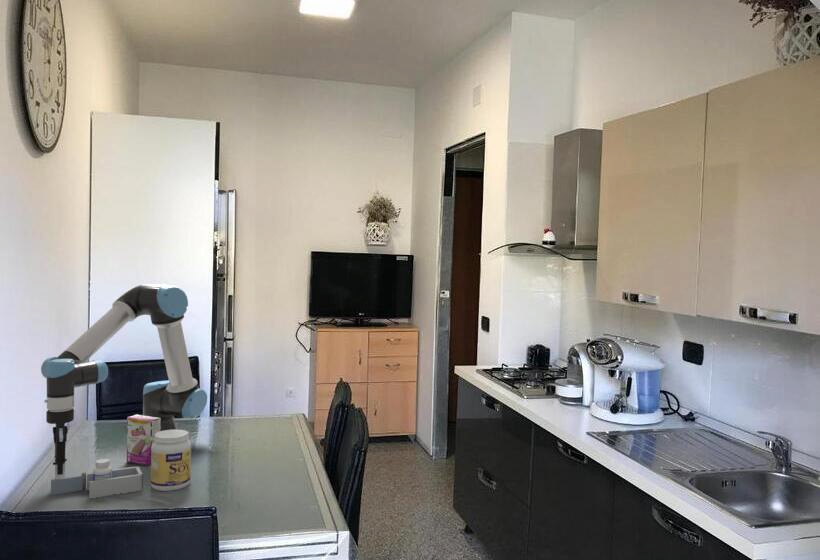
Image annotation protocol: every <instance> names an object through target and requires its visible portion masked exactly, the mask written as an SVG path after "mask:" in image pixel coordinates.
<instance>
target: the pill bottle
mask: <svg viewBox="0 0 820 560" xmlns="http://www.w3.org/2000/svg"><path fill="white" fill-rule="evenodd" d="M110 460H111V459H109V458H100V459H97V460H95V464H94V466H95V467H94V468H93V470H92V473H93V481H96V480H103V479H109V478H112V470H113V467H112V466H110V463H111V461H110Z"/></svg>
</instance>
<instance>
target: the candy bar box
mask: <svg viewBox="0 0 820 560" xmlns="http://www.w3.org/2000/svg"><path fill="white" fill-rule="evenodd" d="M160 431H161V418H157V417H150V416H144V415H143V414H134V415H130V416H127V418H126V463H129V464H136V465H142V466H147V467H151V447H152V444H153V443H154V442H155V441H154V435H155V433H157V432H160Z"/></svg>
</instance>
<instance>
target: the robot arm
mask: <svg viewBox="0 0 820 560" xmlns="http://www.w3.org/2000/svg"><path fill="white" fill-rule="evenodd" d="M187 307H189V300H188V295H187V294H186V292H185V291H184V290H183V289H182V288H180V287H179V286H176V285H172V284H151V283H143V284H139V285H137V286H135V287H133V288H131V289H130V290H128V291H126V292H124V293H123V294H122V295H120V296H119V297H118V298H117V299H116V300H115V301H114V302H113V303H112V305H111V308H110V309H109V310H108V311H107V312H105V314H104V315H102V316H101V317H100V318H99V319H97V321H96V322H94V324H92V325H91V326H90V327H89V328H88V329H87V330H86V331H84V333H82V335H80V336H79V337H78V338H77V339H76V340H75V341H74V342H73V343H72V344H70V345H69V346H68V347H66V349H65V350H63V352H61V353H60V354H59V355H58V356H53V357H52V356H51V357H48V358H45V360H43V362H42V364H41V366H40V372H41V375H42V376H43V378H45V379H46V399H44V400H43V402H44V403H46V409H47V410H46V412H45V413H46V423H47V424H50V425H55V426H53V427H52V435H53V444H54V456H53V457H54V462H52V466H54V479H60V478H66V473H65V472H66V461H68V458H66V442H67V441H68V432H69V431H68V430H69V429H68V425H65V424H67V423H71V422H73V421H74V419H75V409H74V407H75V388H79V387H80V388H81V387H84V386H90V385H96V384H99V383H103V382H105V380H107V378H108V376H109V367H108V365H107V363H106V362H105V361H104V360H101V359H97V360H95V359H94V360H90V358H92V357H93V355H94V354H96V353H97V352H98V351H99V350H100V349H101V348H102V347H103V346H104V345H105V344H106V343H107V342H108V341H110V340H111V339H112V338H113V337H114V335H116V334H117V333H118V332H119V331H120V330H121V329H122V328H123V327H124V326H125V325H126V324H127V323H129V322H133V321H135V319H137V318H139V317H141V316H150V321H151V324H152V325H154V326H155V327H156V328H157V332H158V338H159V342H160V345H161V352H162V355H163V360H164V364H165V368H166V375H167V378H168V380H159V381H154V382H148V383H146V384H144V386H143V393H142V415H144V416H150V417H157V418H161V431H164V430H179V429H178V426H177V424H176V420H175V417H177V418H183V419H196V418H197V417H199V416H201V414H202V413H203V412H204V411H205V408H206V406H207V403H208V395H207V392H206V390H204V389H202V388H200V386H199V383H198V380H197V379H196V378H194V377H193V374H192V369H191V364H190V359H189V355H188V350H187V349H188V348H187V345H186V339H185V335H184V331H183V325H182V321H183V320H184V319H185V314H186V312H187V310H188V308H187ZM89 360H90V361H89Z"/></svg>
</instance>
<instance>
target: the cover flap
mask: <svg viewBox="0 0 820 560" xmlns="http://www.w3.org/2000/svg"><path fill="white" fill-rule="evenodd" d="M81 491H87V472H82V473H81V475H74V476H69V477H65V478H60V479H55V478H54V479H50V495H51V496H53V495H61V494H66V493H73V492H81Z"/></svg>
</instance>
